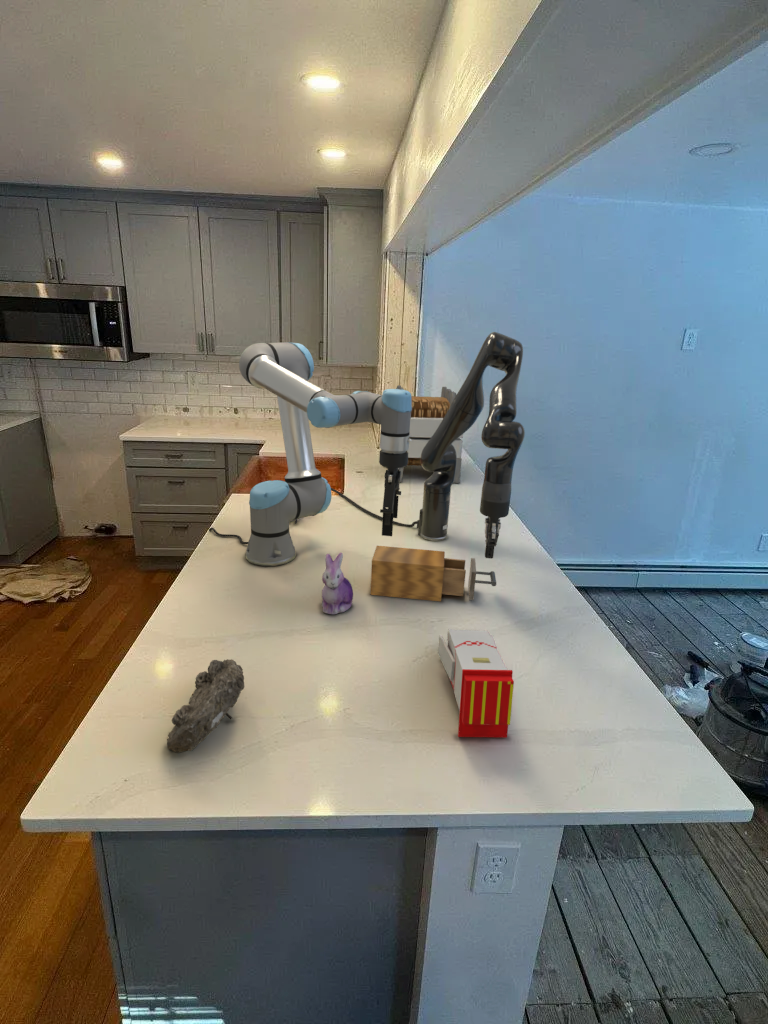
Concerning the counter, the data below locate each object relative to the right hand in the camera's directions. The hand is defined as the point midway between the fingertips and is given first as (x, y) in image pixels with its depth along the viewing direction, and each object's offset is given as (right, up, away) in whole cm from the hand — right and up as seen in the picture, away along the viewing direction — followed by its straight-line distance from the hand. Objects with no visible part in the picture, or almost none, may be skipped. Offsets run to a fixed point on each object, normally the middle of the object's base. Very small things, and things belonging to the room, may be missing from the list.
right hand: (488, 557), depth 154 cm
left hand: (-27, +8, +1) cm, 28 cm away
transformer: (-11, +31, +121) cm, 125 cm away
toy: (-11, -25, -36) cm, 45 cm away
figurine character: (-62, +10, +55) cm, 83 cm away
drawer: (-10, -10, +5) cm, 15 cm away
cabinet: (-22, -10, +6) cm, 25 cm away
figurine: (-41, -13, -5) cm, 43 cm away
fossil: (-61, -27, -46) cm, 81 cm away
